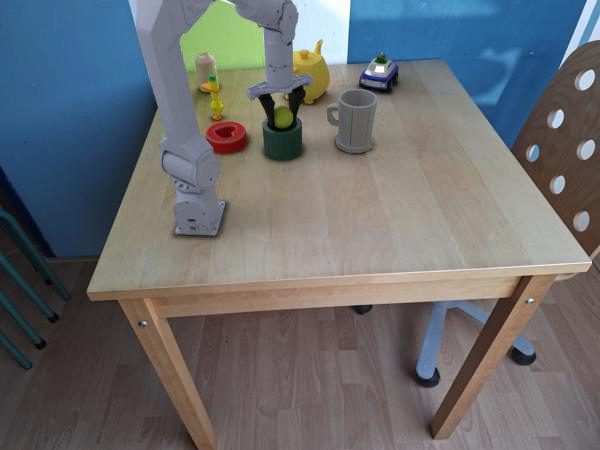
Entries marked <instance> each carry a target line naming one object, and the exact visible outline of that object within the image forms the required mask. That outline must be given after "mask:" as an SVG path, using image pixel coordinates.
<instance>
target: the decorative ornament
mask: <svg viewBox="0 0 600 450" xmlns="http://www.w3.org/2000/svg"><path fill="white" fill-rule="evenodd" d="M205 139H206V140H207V141H208V143H209V144H210V145H211V146H212V147H213V152H214V153H216V154H217V153H218V154H233V153H237V152H239V151H240V150H243V149H244V148H245V147H246V145H247V144H248V135H247V129H246V127H245V126H244V125H243V124H241V123H240V122H237V121H231V120H227V121H219V122H217V123H214V124H212V125H210V126H209V127H208V128H207V129H206V131H205Z"/></svg>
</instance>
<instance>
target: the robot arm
mask: <svg viewBox="0 0 600 450" xmlns="http://www.w3.org/2000/svg"><path fill="white" fill-rule="evenodd" d="M221 1H223V2H225V3H228V4H230V5H233V6H234V9H235V12H236V14H237V15H238V16H239V17H240V18H242V19H245V20H247V21H249V22H252V23H254V24H256V26H257V27H258V28H260V29H261V28H262V37H263V38H262V39H263V51H264V64H265V80H264V81H262V82H259V83H257V84H254V85H252V86H250V87H246V97H247V98H248V99H249V101H254V100H256V98H257V99H258V101H259V102H260V104H261V106H262V108H263V110H264V113H265V116H266V118H267V119H268V123H269V124H270V125H271V126H275V119H274V108H276V107H275V106H276V101H275V100H274V99H273V96H272V95H273V94H283V95H285V94H288V99H287V100H288V108H290V109H291V111H292V113H293V121H295V120H296V117H298V113H299V109H300V106H301V104H302V103H303V101H304V100H305V99H304V97H305V96H306V91H305V90H304V89H303V86H313V77H312V76H311V75H309V74H306V75H293V52H294V46H293V45H294V44H293V43H294V42H293V41H294V40H295V39H296V28H297V24H298V22H299V16H300V15H299V14H300V13H299V11H298V7H297V5H296V4H294V1H292V0H221ZM216 2H218V0H136V13H135V15H136V17H135V20H136V21H135V30H136V36H137V39H138V43H139V45H140V50H141V53H142V56H143V59H144V63H145V68H146V70H147V73H148V77H149V81H150V84H151V88H152V92H153V95H154V98H155V101H156V105H157V107H158V112H159V115H160V118H161V122H162V125H163V129H164V132H165V136H163V138H161V140H160V141H159V142H158V148H159V152H160V154H159V167H160V168H161V170H162V172H164V173H165V174H167V175H169V177H170V180H171V181H172V182H173V185H174V190H175V194H176V195H175V196H176V198H175V203H174V206H173V215H174V217H175V221H176V227H175V231H174V233H175V235H190V236H191V235H192V236H217V235H218V231H219V228H220V224H221V221H222V218H223V213H224V210H225V206H226V202H225V201H223V200H219V199H218V194H217V188H216V183H217V181H218V180H219V178H220V174H221V162H220V159H219V158H218V157H217V155H216V154H215V152H214V151H213V147H212V146H211V145H210V144H209V143H208V141H207V139H206V137H204V135H202V133H201V131H200V127H199V122H198V117H197V112H196V108H195V104H194V100H193V95H192V90H191V86H190V81H189V77H188V71H187V68H186V63H185V59H184V54H183V49H182V45H181V39H182V37H183V35H185V34H188V33H189V31H190V30H191V29H192V28H193V27H194V26H195V25H196V23H197V22H198V21H199V20H200V19H201V17H203V16H204V14H205V13H206V12H207V11H208V9H209V8H210V7H211V5H212V4H213V3H216Z"/></svg>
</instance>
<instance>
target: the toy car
mask: <svg viewBox="0 0 600 450" xmlns="http://www.w3.org/2000/svg"><path fill="white" fill-rule="evenodd" d="M399 69H400V66H399V65H398V64H395V63H394V62H393V61H392V60H390V59H388V58H387V55H386V53H385V52H382V51H380V52H379V53H378V55H377V56H376V57H375V58H372V60H371V62H370V63H369V64H368V66H367V67H366V68H365V69H364V70H363V72H362V73H361V74H360V75H359V79H358V85H359V86H360V87H363V88H368V87H369V88H373V89H379V90H381V91H383V92H388V93H391V91H392V89H393V85H397V82H398V79H399Z"/></svg>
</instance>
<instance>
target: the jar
mask: <svg viewBox="0 0 600 450" xmlns="http://www.w3.org/2000/svg"><path fill="white" fill-rule="evenodd" d="M261 128H262V139H263V150H264V154H265V155H266V156H267V157H268V158H270V159H272V160H275V161H280V162H281V161H282V162H283V161H284V162H285V161H290V160H294V159H296V158H298V157H299V156H300V155H301V154H302V152H303V121H302V119H301V118H300V117H298V116H297V117H296V120H295V121H292V123H291V125H290V126H288V127H287V128H278V127H276V126H271V125H270V124H269V123H268V119H267V117H266V118H265V119H264V120H263V121H262V123H261Z"/></svg>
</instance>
